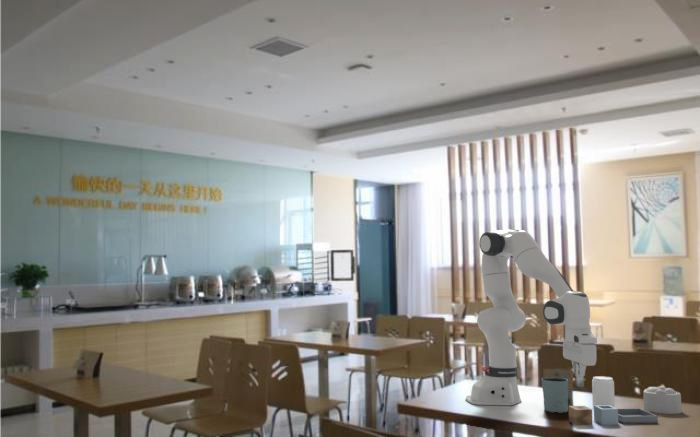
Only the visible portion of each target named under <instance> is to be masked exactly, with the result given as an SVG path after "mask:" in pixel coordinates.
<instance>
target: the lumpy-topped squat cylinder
mask: <svg viewBox="0 0 700 437" xmlns="http://www.w3.org/2000/svg"><path fill="white" fill-rule="evenodd" d="M642 394H643V396H642V397H643V410H645V411H647V412H650V413H658V414H664V415H665V414H666V415H668V414H669V415H670V414H672V415H675V414H681V413H683V412H682V394H681V392H679V391H676V390H674V388H671V387H665V386H662V385H660V386H658V387H657V386H648V387H647V388H645V389H644V390H643V392H642Z"/></svg>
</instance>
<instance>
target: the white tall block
mask: <svg viewBox="0 0 700 437" xmlns="http://www.w3.org/2000/svg"><path fill="white" fill-rule="evenodd" d="M591 390H592V396H591V397H592V407H593V408H594V406H595V405H610V406H612V407H615V408H616V405H615V404H616V402H615V380H614V379H613V377H611V376H604V375H603V376H602V375H599V376H593V377H592V380H591Z"/></svg>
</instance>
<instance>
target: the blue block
mask: <svg viewBox="0 0 700 437" xmlns="http://www.w3.org/2000/svg"><path fill="white" fill-rule="evenodd" d="M618 409H619V408H617V407H616V406H615V407H612V406H610V405H595V406H594V407H593V419H594V420H593V421H594V422H596V423H598V424H600V425H603V426H607V425H608V426H609V425H610V426H612V425H613V426H614V425H619V422H618Z"/></svg>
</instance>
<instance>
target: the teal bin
mask: <svg viewBox="0 0 700 437" xmlns="http://www.w3.org/2000/svg"><path fill="white" fill-rule="evenodd" d="M541 389H542V393H543V404H544V410H545V411H546V412H548V411H549V413H554V412H558V413H559V414H562V413H563V412H564V413H567V412H569V379H568V378H565V377H559V376H558V377H557V376H555V377H554V376H551V377H550V376H548V377H543V378H541ZM558 413H557V414H558ZM564 413H563V414H564Z"/></svg>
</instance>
